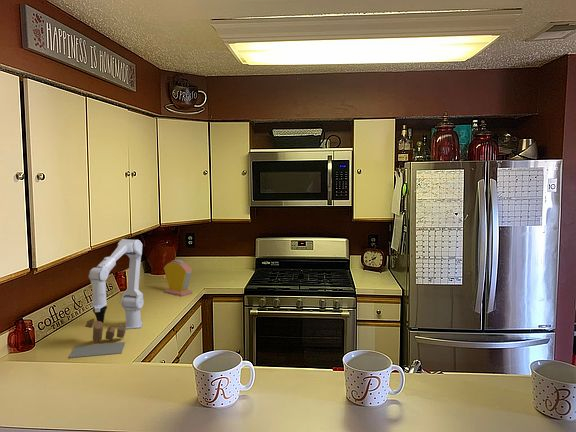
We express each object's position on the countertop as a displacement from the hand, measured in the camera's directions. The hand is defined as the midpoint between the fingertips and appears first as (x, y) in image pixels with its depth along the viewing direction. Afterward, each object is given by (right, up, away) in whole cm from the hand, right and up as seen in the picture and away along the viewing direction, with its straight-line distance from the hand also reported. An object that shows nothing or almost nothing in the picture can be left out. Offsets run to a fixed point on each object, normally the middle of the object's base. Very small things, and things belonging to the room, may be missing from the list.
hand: (100, 323), depth 213 cm
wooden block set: (0, -5, +4) cm, 7 cm away
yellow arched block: (+15, -1, +88) cm, 89 cm away
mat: (+2, -10, -9) cm, 13 cm away
